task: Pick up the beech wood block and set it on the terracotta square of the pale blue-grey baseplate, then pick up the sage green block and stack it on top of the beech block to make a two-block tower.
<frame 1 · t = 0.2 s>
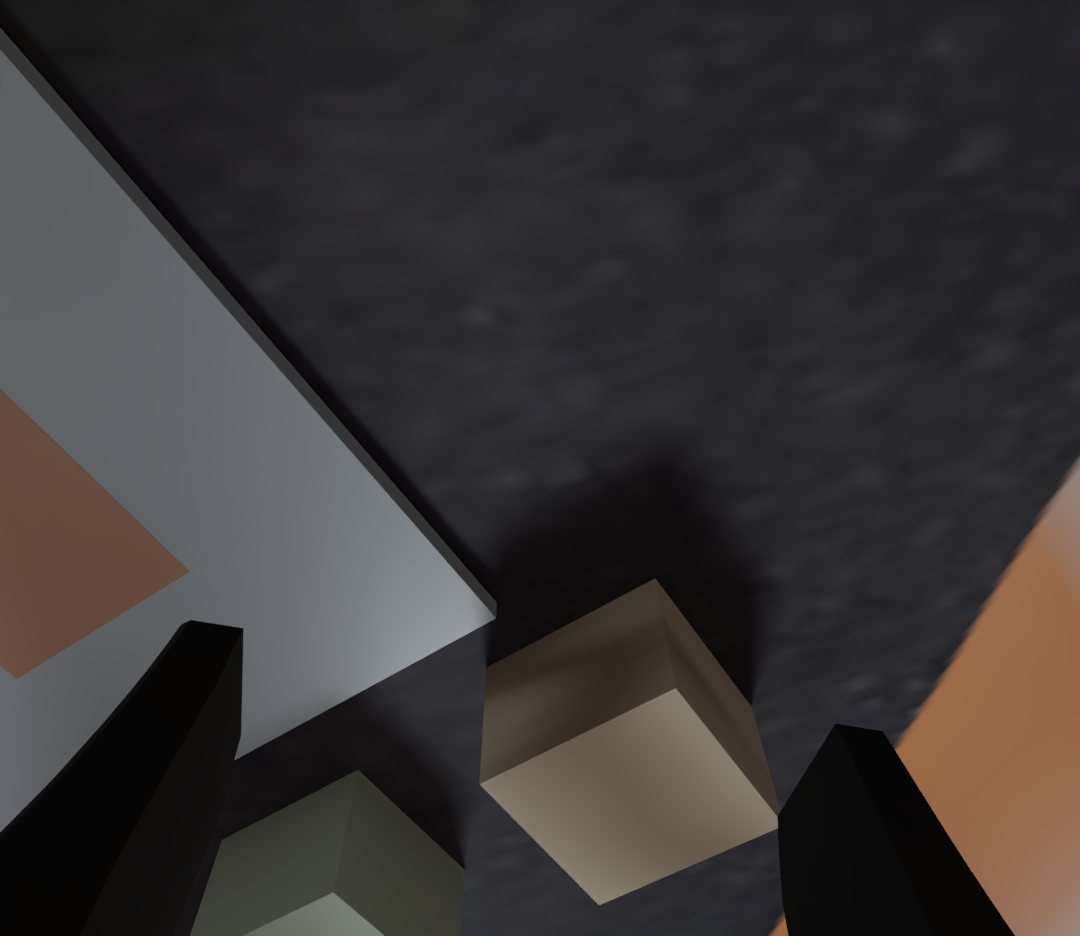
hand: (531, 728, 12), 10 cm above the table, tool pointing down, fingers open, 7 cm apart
beech block: (620, 683, 26), on the table
baseplate: (17, 529, 23), on the table
sage block: (345, 851, 29), on the table
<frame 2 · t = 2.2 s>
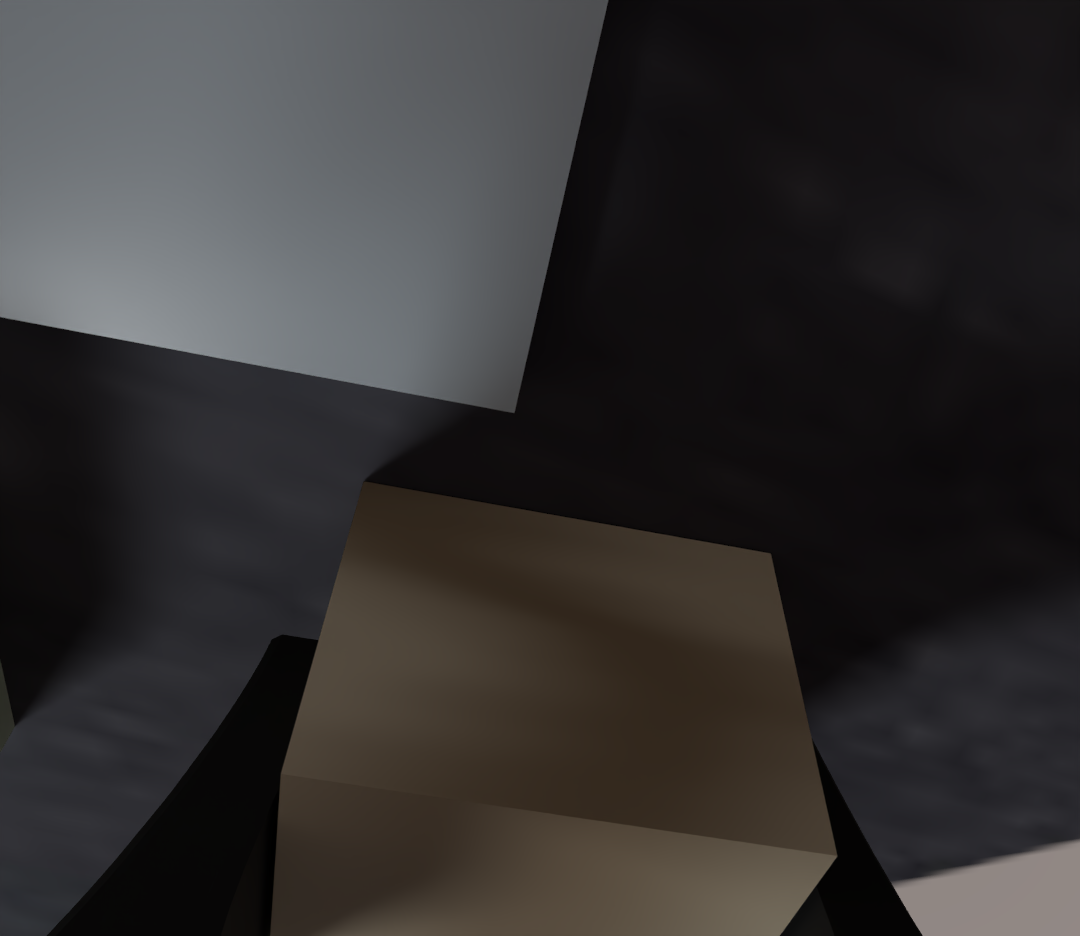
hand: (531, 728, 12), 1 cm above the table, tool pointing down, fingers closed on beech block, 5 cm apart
beech block: (531, 654, 13), on the table, touching gripper
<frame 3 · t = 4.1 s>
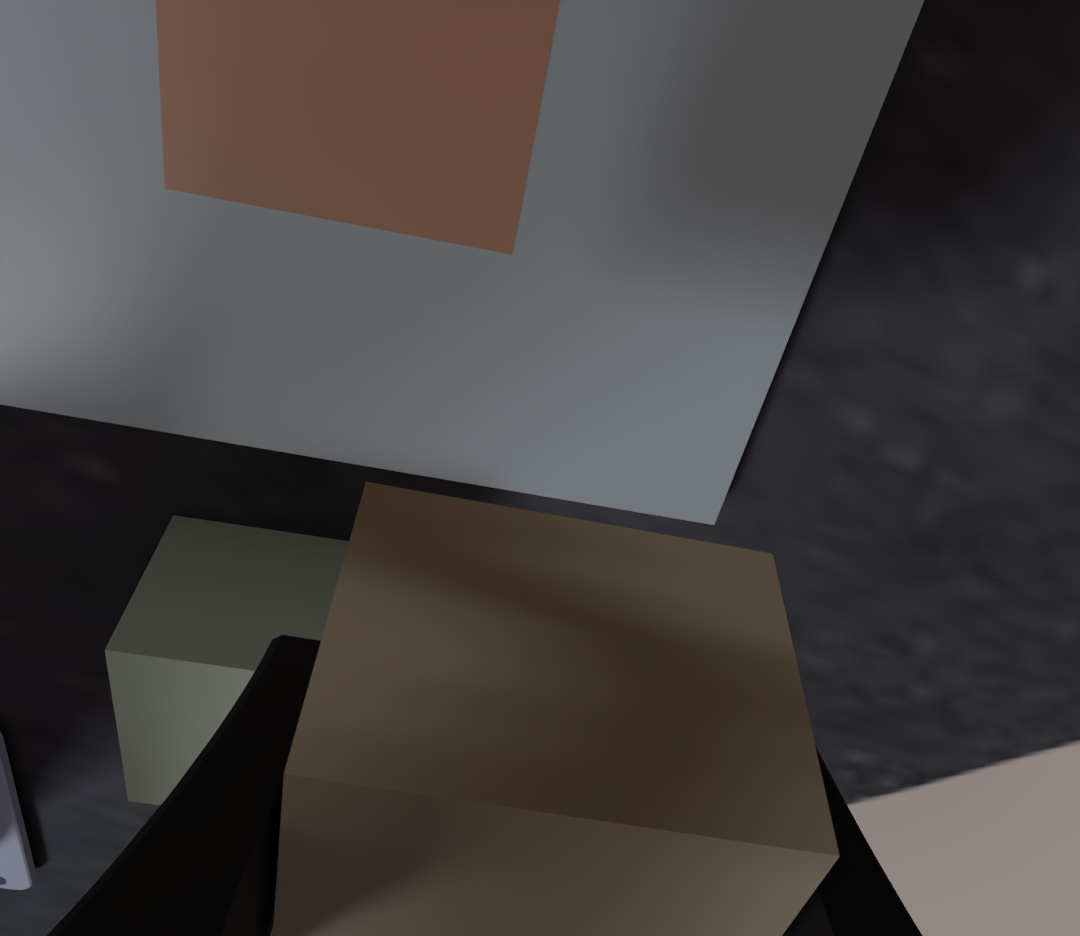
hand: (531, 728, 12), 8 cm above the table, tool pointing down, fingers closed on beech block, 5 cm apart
beech block: (532, 654, 13), point 7 cm above the table, touching gripper
baseplate: (360, 31, 15), on the table
sage block: (288, 606, 23), on the table
when the fingers open (3 cm above the table, at t = 6.0 s): beech block drops 1 cm, resting on baseplate.
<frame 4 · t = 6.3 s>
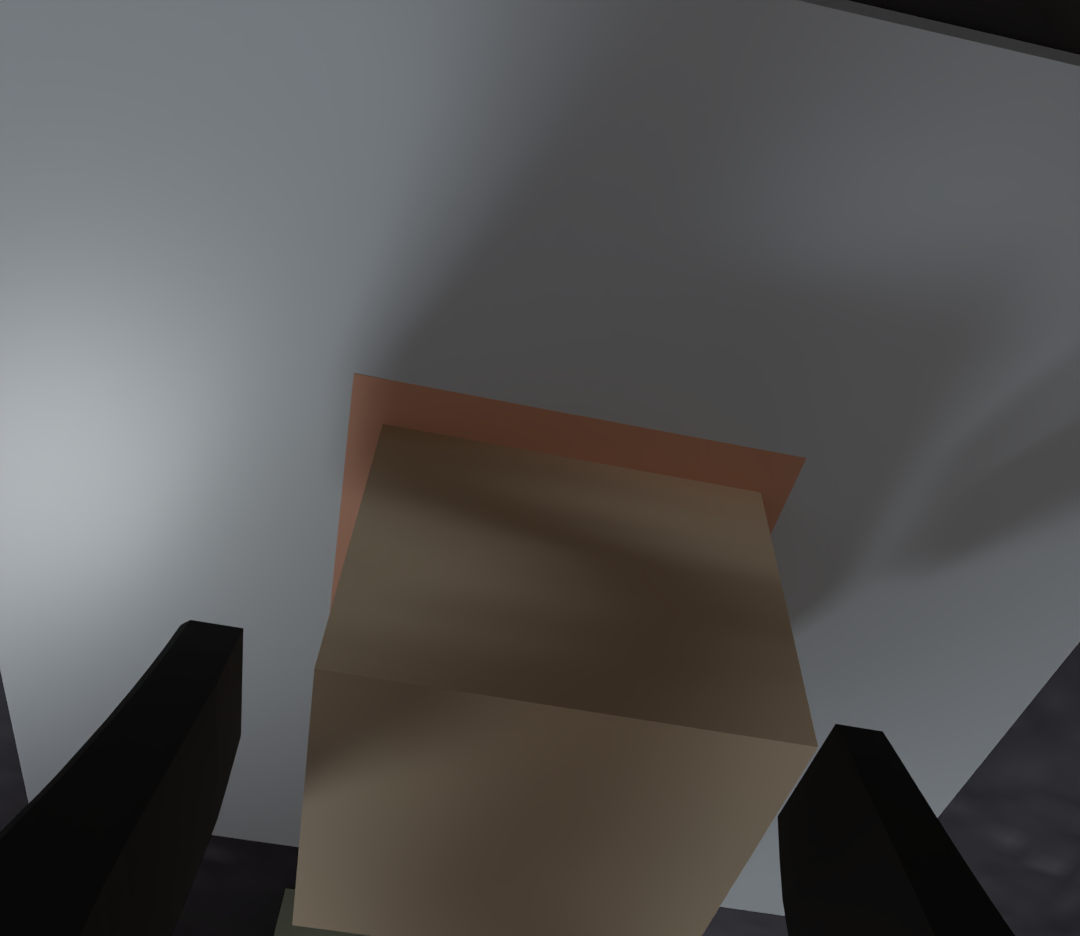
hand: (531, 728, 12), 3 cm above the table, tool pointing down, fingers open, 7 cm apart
beech block: (537, 592, 14), point 1 cm above the table, touching baseplate
baseplate: (540, 550, 14), on the table
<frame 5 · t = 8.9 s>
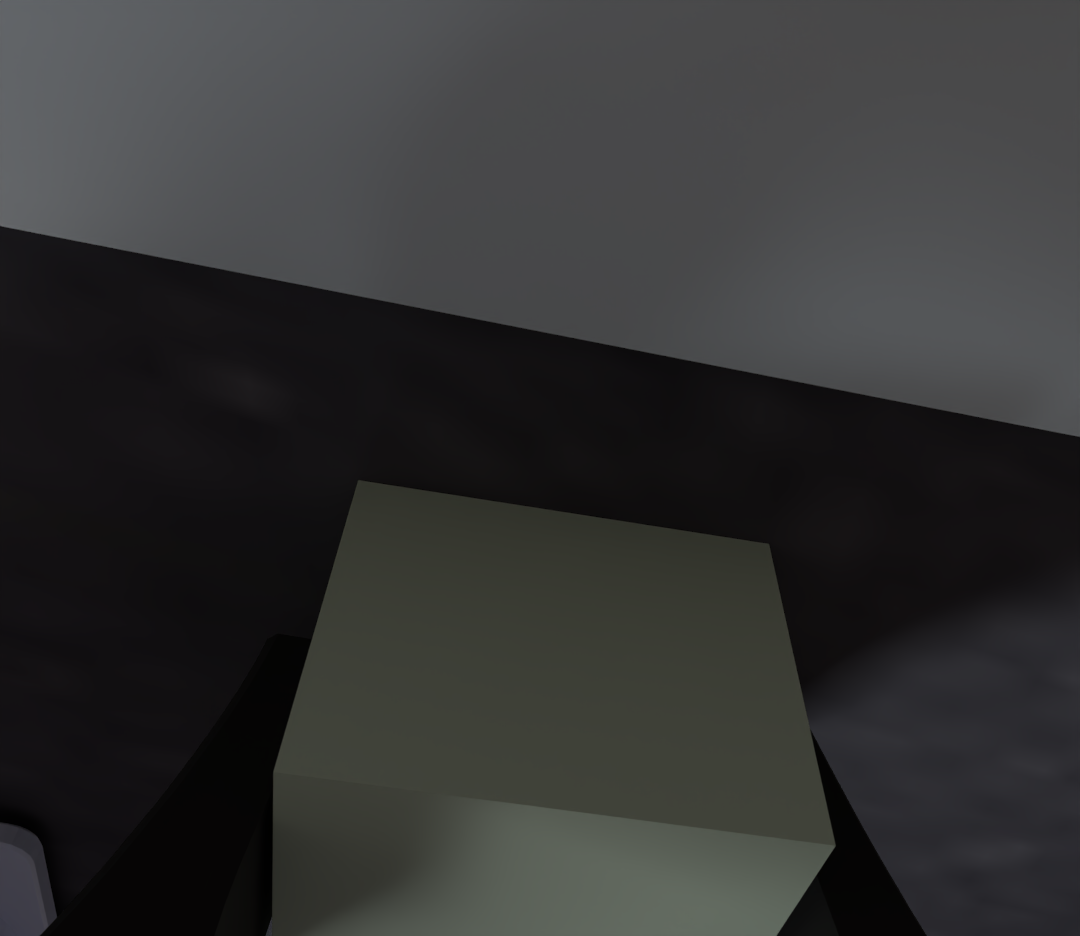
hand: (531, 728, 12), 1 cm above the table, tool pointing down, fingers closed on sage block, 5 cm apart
sage block: (532, 650, 13), on the table, touching gripper
when the fingers open (7 cm above the table, at t = 12.7 s): sage block drops 1 cm, resting on beech block.
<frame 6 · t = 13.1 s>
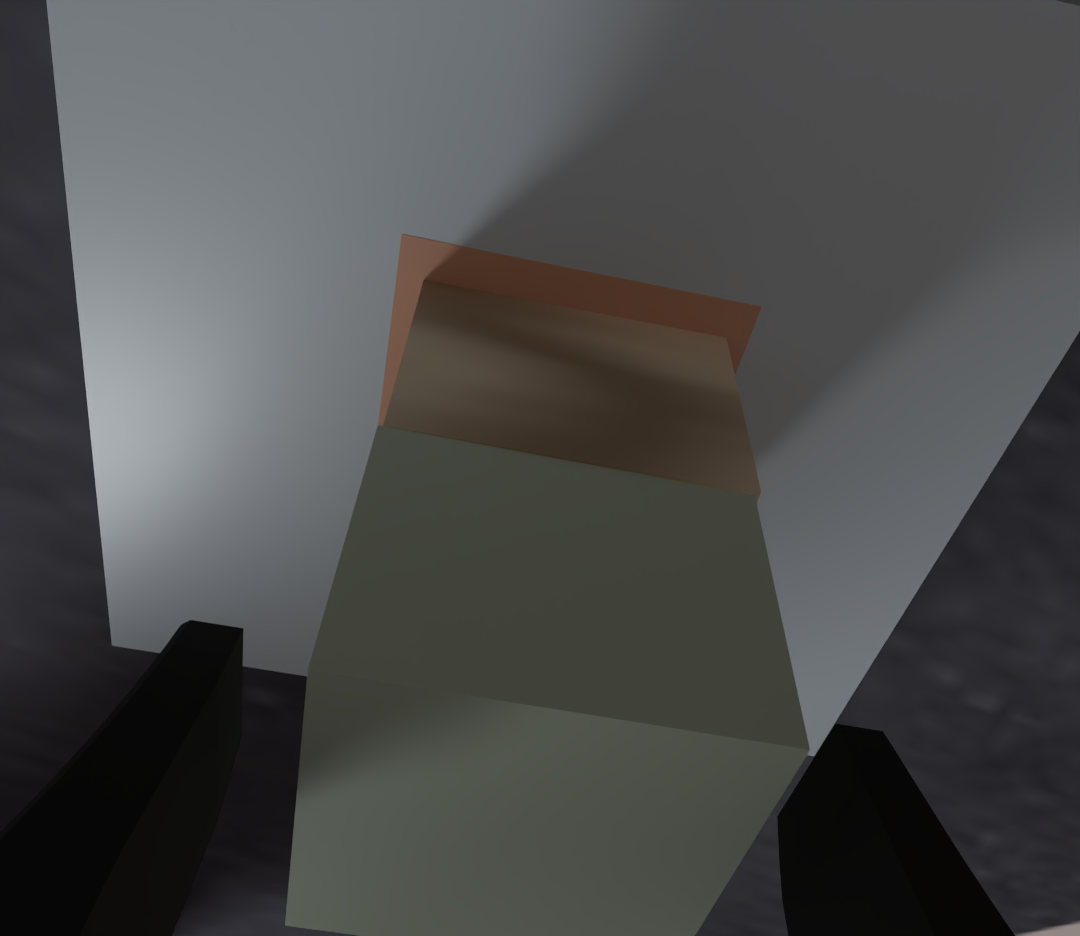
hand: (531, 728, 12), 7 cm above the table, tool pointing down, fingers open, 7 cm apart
beech block: (546, 431, 17), point 1 cm above the table, touching baseplate, sage block
baseplate: (548, 399, 18), on the table
sage block: (531, 594, 14), point 5 cm above the table, touching beech block
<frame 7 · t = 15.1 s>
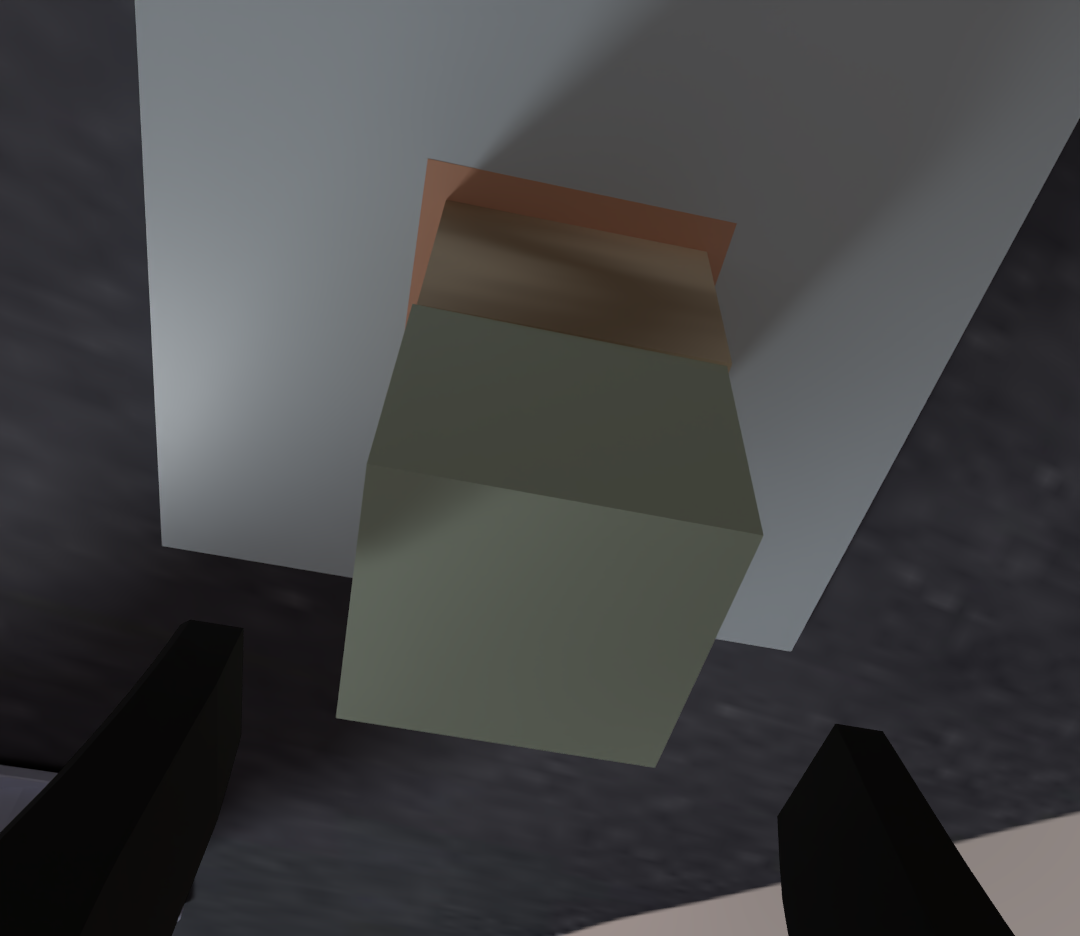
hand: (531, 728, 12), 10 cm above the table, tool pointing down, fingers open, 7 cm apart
beech block: (551, 339, 20), point 1 cm above the table, touching baseplate, sage block
baseplate: (552, 312, 20), on the table
sage block: (539, 459, 17), point 5 cm above the table, touching beech block
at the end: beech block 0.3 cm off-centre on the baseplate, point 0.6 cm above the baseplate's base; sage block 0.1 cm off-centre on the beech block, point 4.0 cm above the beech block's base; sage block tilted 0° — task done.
